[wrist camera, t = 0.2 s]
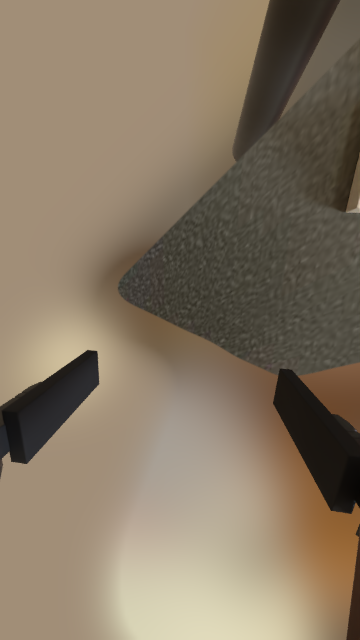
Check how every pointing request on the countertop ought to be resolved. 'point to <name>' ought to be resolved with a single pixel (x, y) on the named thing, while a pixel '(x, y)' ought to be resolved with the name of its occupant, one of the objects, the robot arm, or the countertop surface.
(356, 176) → the white button base
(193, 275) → the countertop surface
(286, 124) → the countertop surface
